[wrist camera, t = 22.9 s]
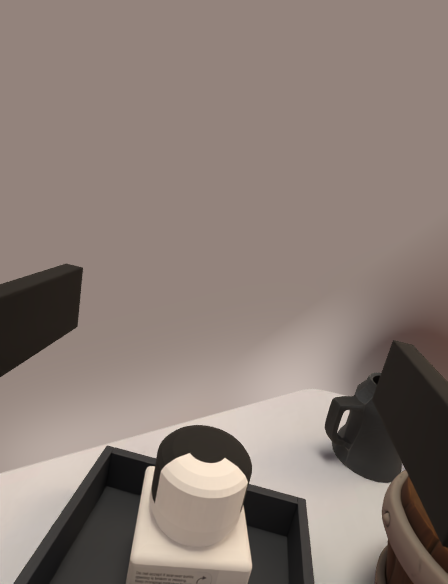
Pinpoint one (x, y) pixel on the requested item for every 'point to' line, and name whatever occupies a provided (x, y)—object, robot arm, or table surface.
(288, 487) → the table surface
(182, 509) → the container
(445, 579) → the flowerpot
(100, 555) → the tub
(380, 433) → the mug
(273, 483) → the table surface
